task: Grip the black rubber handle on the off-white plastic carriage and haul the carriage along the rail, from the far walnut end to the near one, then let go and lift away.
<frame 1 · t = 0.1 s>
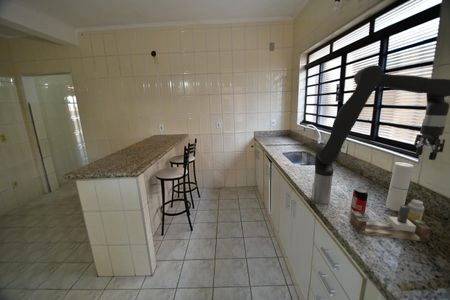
hand: (424, 157, 94), 29 cm above the worktop, fingers open, 8 cm apart
cylindrical container: (394, 208, 103), on the worktop
carriage: (402, 216, 82), point 8 cm above the worktop, slide at 5.0 cm
beverage can: (357, 210, 101), on the worktop
rail: (385, 231, 85), on the worktop
supplement bottle: (412, 220, 93), on the worktop
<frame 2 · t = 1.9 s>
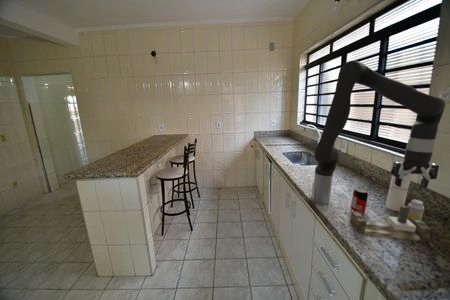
hand: (410, 187, 79), 22 cm above the worktop, fingers open, 8 cm apart
nothing on the worktop moved.
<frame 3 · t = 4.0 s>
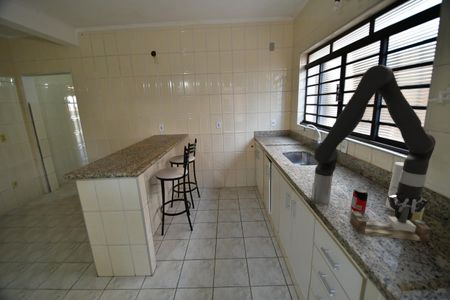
hand: (402, 218, 82), 7 cm above the worktop, fingers closed on carriage, 3 cm apart
carriage: (402, 216, 82), point 8 cm above the worktop, slide at 5.0 cm, touching gripper
everything else where it was.
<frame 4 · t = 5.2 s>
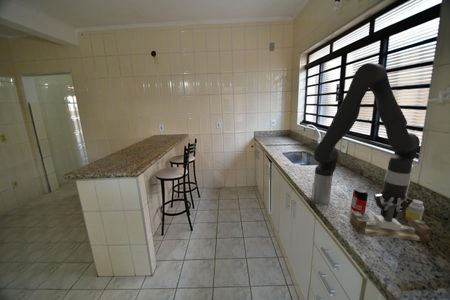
hand: (388, 217, 83), 7 cm above the worktop, fingers closed on carriage, 3 cm apart
carriage: (388, 215, 83), point 8 cm above the worktop, slide at -0.3 cm, touching gripper
everything else where it was.
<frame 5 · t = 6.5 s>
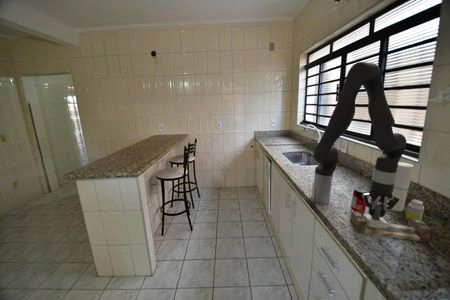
hand: (375, 215, 85), 7 cm above the worktop, fingers closed on carriage, 3 cm apart
carriage: (376, 213, 84), point 8 cm above the worktop, slide at -5.0 cm, touching gripper
everything else where it was.
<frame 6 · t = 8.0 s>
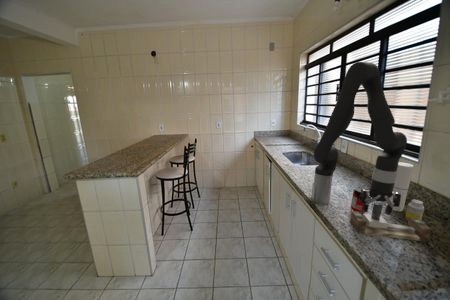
hand: (376, 212, 84), 9 cm above the worktop, fingers open, 8 cm apart
carriage: (376, 213, 84), point 8 cm above the worktop, slide at -5.0 cm
everything else where it was.
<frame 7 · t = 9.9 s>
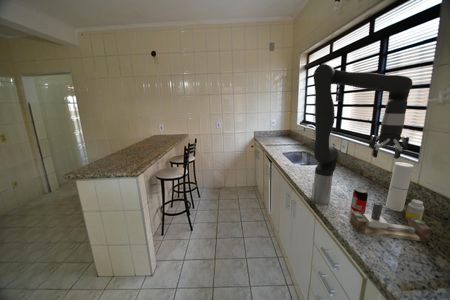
hand: (385, 157, 90), 31 cm above the worktop, fingers open, 8 cm apart
nothing on the worktop moved.
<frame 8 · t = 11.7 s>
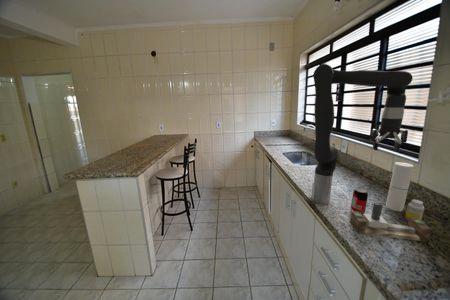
hand: (385, 150, 93), 33 cm above the worktop, fingers open, 8 cm apart
nothing on the worktop moved.
at the end: carriage slide at -5.0 cm; the gripper is holding nothing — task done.
